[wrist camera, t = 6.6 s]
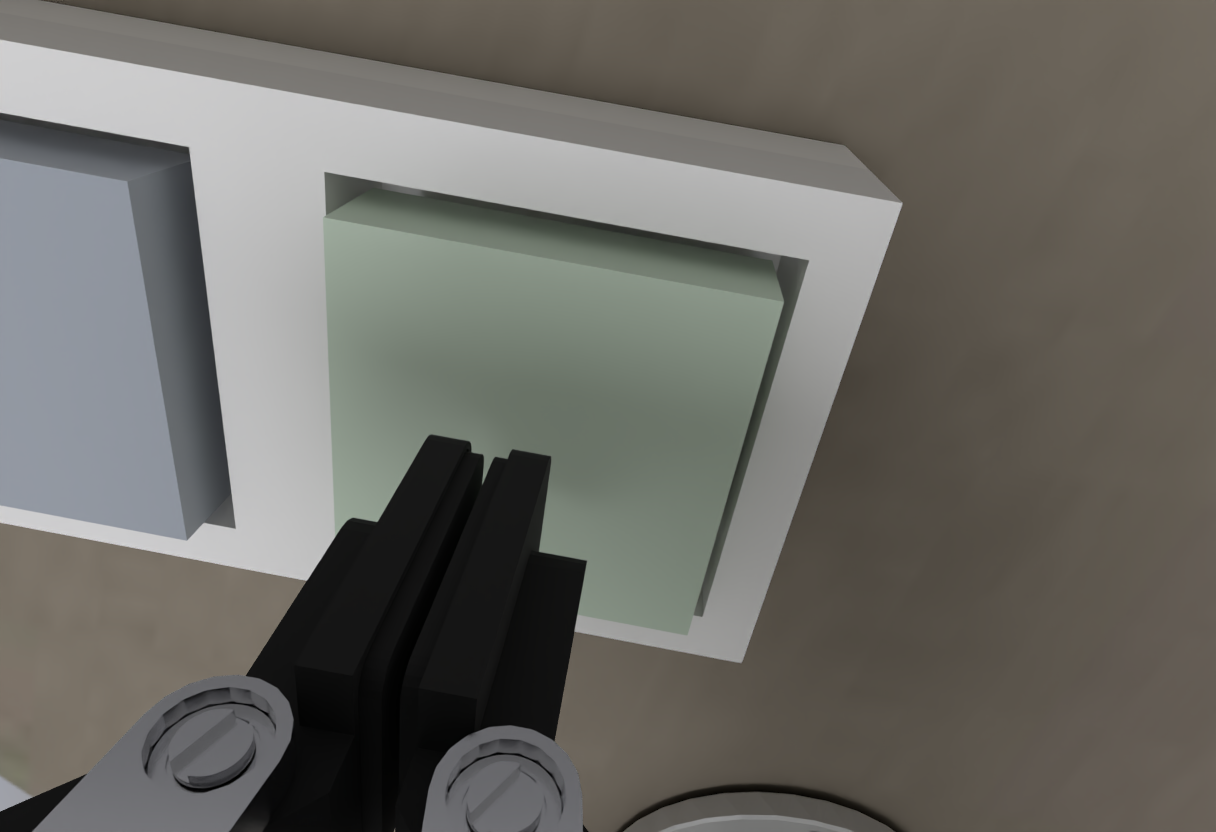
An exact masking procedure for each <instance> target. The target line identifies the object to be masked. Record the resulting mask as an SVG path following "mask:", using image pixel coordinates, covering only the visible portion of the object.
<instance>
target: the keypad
mask: <svg viewBox="0 0 1216 832" xmlns="http://www.w3.org/2000/svg"><path fill="white" fill-rule="evenodd" d="M0 120H5V121H11V122H16V123H22V124H27V125H33V126H38V127H44V128H49V129H54V130H60V131H65V132H71V133H76V134H82V135H87V136H93V137H98V138H104V139H109V140H115V141H120V142H126V143H131V144H137V145H142V146H147V147H153V148H158V149H164V150H169V151H175V152H180V153H186V154H190V159H191V167H192V175H193V183H194V192H195V200H196V208H197V216H198V224H199V232H200V240H201V249H202V257H203V265H204V273H205V281H206V289H207V297H208V306H209V314H210V322H211V330H212V338H213V346H214V354H215V363H216V371H217V379H218V387H219V395H220V403H221V411H222V419H223V428H224V436H225V444H226V452H227V460H228V468H229V476H230V485H231V494H230V495H229V496H228V497H227V499H226V500H225V501H224V502H223V503H222V504H221V505H220V506H219V507H218V508H217V509H216V510H215V511H214V512H213V514H212V515H211V516H210V517H209V518H208V519H207V520H206V521H205V522H204V523H203V524H202V525H201V526H200V527H199V528H198V530H197V531H196V532H195V533H194V534H193V535H192V536H191V537H190V538H189V539H188V540H187V541H186V540H180V539H175V538H170V537H164V536H159V535H154V534H149V533H143V532H138V531H133V530H128V529H122V528H117V527H112V526H106V525H101V524H96V523H91V522H85V521H80V520H75V519H69V518H64V517H59V516H54V515H48V514H43V513H38V512H33V511H27V510H22V509H17V508H11V507H6V506H1V505H0V523H6V524H11V525H16V526H21V527H27V528H32V529H37V530H42V531H48V532H53V533H58V534H63V535H69V536H74V537H79V538H85V539H90V540H95V541H100V542H106V543H111V544H116V545H121V546H127V547H132V548H137V549H142V550H148V551H153V552H158V553H164V554H169V555H174V556H179V557H185V558H190V559H195V560H200V561H206V562H211V563H216V564H221V565H227V566H232V567H237V568H243V569H248V570H253V571H258V572H264V573H269V574H274V575H279V576H285V577H290V578H295V579H300V580H306V581H307V580H308V578H309V577H310V575H311V574H312V572H313V571H314V569H315V568H316V566H317V564H318V563H319V561H320V560H321V558H322V557H323V555H324V554H325V552H326V551H327V549H328V547H329V546H330V544H331V543H332V541H333V540H334V538H335V520H334V494H333V467H332V441H331V415H330V389H329V363H328V337H327V310H326V284H325V258H324V232H323V217H324V216H326V215H328V214H329V213H331V212H333V211H334V210H336V209H338V208H340V207H341V206H343V205H345V204H346V203H348V202H350V201H351V200H353V199H355V198H356V197H358V196H360V195H361V194H363V193H365V192H367V191H368V190H370V189H372V188H378V189H383V190H389V191H394V192H400V193H405V194H411V195H416V196H422V197H427V198H433V199H438V200H443V201H449V202H454V203H460V204H465V205H471V206H476V207H482V208H487V209H493V210H498V211H504V212H509V213H515V214H520V215H526V216H531V217H537V218H542V219H547V220H553V221H558V222H564V223H569V224H575V225H580V226H586V227H591V228H597V229H602V230H608V231H613V232H619V233H624V234H630V235H635V236H641V237H646V238H651V239H657V240H662V241H668V242H673V243H679V244H684V245H690V246H695V247H701V248H706V249H712V250H717V251H723V252H728V253H734V254H739V255H744V256H750V257H755V258H761V259H766V260H772V261H773V265H774V268H775V272H776V275H777V279H778V282H779V286H780V289H781V293H782V296H783V299H784V304H783V308H782V311H781V315H780V318H779V322H778V325H777V329H776V332H775V335H774V339H773V342H772V346H771V349H770V353H769V356H768V360H767V363H766V366H765V370H764V373H763V377H762V380H761V384H760V387H759V391H758V394H757V397H756V401H755V404H754V408H753V411H752V415H751V418H750V422H749V425H748V429H747V432H746V435H745V439H744V442H743V446H742V449H741V453H740V456H739V460H738V463H737V466H736V470H735V473H734V477H733V480H732V484H731V487H730V491H729V494H728V497H727V501H726V504H725V508H724V511H723V515H722V518H721V522H720V525H719V529H718V532H717V535H716V539H715V542H714V546H713V549H712V553H711V556H710V560H709V563H708V566H707V570H706V573H705V577H704V580H703V584H702V587H701V591H700V594H699V597H698V601H697V604H696V608H695V611H694V615H693V618H692V622H691V625H690V629H689V632H688V635H682V634H676V633H671V632H666V631H661V630H655V629H650V628H645V627H639V626H634V625H629V624H624V623H618V622H613V621H608V620H603V619H597V618H592V617H587V616H581V615H577V620H576V625H575V631H574V632H580V633H585V634H590V635H595V636H601V637H606V638H611V639H617V640H622V641H627V642H632V643H638V644H643V645H648V646H653V647H659V648H664V649H669V650H674V651H680V652H685V653H690V654H696V655H701V656H706V657H711V658H717V659H722V660H727V661H732V662H738V663H742V661H743V658H744V655H745V652H746V649H747V647H748V644H749V641H750V638H751V635H752V632H753V629H754V627H755V624H756V621H757V618H758V615H759V612H760V610H761V607H762V604H763V601H764V598H765V595H766V592H767V590H768V587H769V584H770V581H771V578H772V575H773V572H774V570H775V567H776V564H777V561H778V558H779V555H780V552H781V550H782V547H783V544H784V541H785V538H786V535H787V532H788V530H789V527H790V524H791V521H792V518H793V515H794V512H795V510H796V507H797V504H798V501H799V498H800V495H801V492H802V490H803V487H804V484H805V481H806V478H807V475H808V472H809V470H810V467H811V464H812V461H813V458H814V455H815V452H816V450H817V447H818V444H819V441H820V438H821V435H822V432H823V430H824V427H825V424H826V421H827V418H828V415H829V412H830V410H831V407H832V404H833V401H834V398H835V395H836V392H837V390H838V387H839V384H840V381H841V378H842V375H843V373H844V370H845V367H846V364H847V361H848V358H849V355H850V353H851V350H852V347H853V344H854V341H855V338H856V335H857V333H858V330H859V327H860V324H861V321H862V318H863V315H864V313H865V310H866V307H867V304H868V301H869V298H870V295H871V293H872V290H873V287H874V284H875V281H876V278H877V275H878V273H879V270H880V267H881V264H882V261H883V258H884V255H885V253H886V250H887V247H888V244H889V241H890V238H891V235H892V233H893V230H894V227H895V224H896V221H897V218H898V215H899V213H900V210H901V207H902V204H903V203H902V202H901V201H900V200H899V199H898V198H897V197H896V196H895V195H894V194H893V193H892V192H891V191H890V190H889V189H888V188H887V187H886V186H885V185H884V184H883V183H882V182H881V181H880V180H879V179H878V178H877V177H876V176H875V175H874V174H873V173H872V172H871V171H870V170H869V169H868V168H867V167H866V166H865V165H864V164H863V163H862V162H861V161H860V160H859V159H858V158H857V157H856V156H855V155H854V154H853V153H852V152H851V151H850V150H849V149H848V148H847V147H846V146H845V145H840V144H834V143H829V142H823V141H817V140H812V139H806V138H801V137H795V136H790V135H784V134H779V133H773V132H768V131H762V130H757V129H751V128H745V127H740V126H734V125H729V124H723V123H718V122H712V121H707V120H701V119H696V118H690V117H684V116H679V115H673V114H668V113H662V112H657V111H651V110H646V109H640V108H635V107H629V106H624V105H618V104H612V103H607V102H601V101H596V100H590V99H585V98H579V97H574V96H568V95H563V94H557V93H551V92H546V91H540V90H535V89H529V88H524V87H518V86H513V85H507V84H502V83H496V82H491V81H485V80H479V79H474V78H468V77H463V76H457V75H452V74H446V73H441V72H435V71H430V70H424V69H418V68H413V67H407V66H402V65H396V64H391V63H385V62H380V61H374V60H369V59H363V58H358V57H352V56H346V55H341V54H335V53H330V52H324V51H319V50H313V49H308V48H302V47H297V46H291V45H285V44H280V43H274V42H269V41H263V40H258V39H252V38H247V37H241V36H236V35H230V34H225V33H219V32H213V31H208V30H202V29H197V28H191V27H186V26H180V25H175V24H169V23H164V22H158V21H152V20H147V19H141V18H136V17H130V16H125V15H119V14H114V13H108V12H103V11H97V10H92V9H86V8H80V7H75V6H69V5H64V4H58V3H53V2H47V1H42V0H0Z"/></svg>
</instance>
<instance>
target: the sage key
mask: <svg viewBox="0 0 1216 832" xmlns="http://www.w3.org/2000/svg"><path fill="white" fill-rule="evenodd" d="M323 232H324V258H325V284H326V310H327V337H328V363H329V389H330V415H331V441H332V467H333V494H334V520H335V537H336V535H337V533H338V532H339V530H340V529H341V527H342V526H343V525H344V524H345V522H346V521H347V520H349V519H351V518H358V519H364V520H369V521H375V522H378V520H379V519H380V517H381V515H382V513H383V512H384V510H385V508H386V507H387V505H388V503H389V501H390V500H391V498H392V496H393V495H394V493H395V491H396V489H397V488H398V486H399V484H400V483H401V481H402V479H403V477H404V476H405V474H406V472H407V471H408V469H409V467H410V465H411V464H412V462H413V460H414V459H415V457H416V455H417V453H418V452H419V450H420V448H421V447H422V445H423V443H424V441H425V440H426V438H427V437H428V436H429V435H431V434H433V435H438V436H444V437H449V438H455V439H460V440H466V441H470V443H471V447H472V452H473V453H478V454H483V455H484V469H483V481H482V485H483V482H484V480H485V477H486V475H487V473H488V470H489V468H490V465H491V463H492V461H493V459H494V457H500V458H505V459H508V456H509V454H510V452H511V450H512V449H515V450H520V451H526V452H531V453H537V454H542V455H547V456H551V468H550V475H549V482H548V490H547V497H546V504H545V511H544V519H543V526H542V533H541V541H540V548H539V552H543V553H548V554H554V555H559V556H565V557H570V558H576V559H581V560H586V561H587V565H586V571H585V576H584V582H583V587H582V593H581V598H580V604H579V609H578V614H577V615H581V616H587V617H592V618H597V619H603V620H608V621H613V622H618V623H624V624H629V625H634V626H639V627H645V628H650V629H655V630H661V631H666V632H671V633H676V634H682V635H688V632H689V629H690V625H691V622H692V618H693V615H694V611H695V608H696V604H697V601H698V597H699V594H700V591H701V587H702V584H703V580H704V577H705V573H706V570H707V566H708V563H709V560H710V556H711V553H712V549H713V546H714V542H715V539H716V535H717V532H718V529H719V525H720V522H721V518H722V515H723V511H724V508H725V504H726V501H727V497H728V494H729V491H730V487H731V484H732V480H733V477H734V473H735V470H736V466H737V463H738V460H739V456H740V453H741V449H742V446H743V442H744V439H745V435H746V432H747V429H748V425H749V422H750V418H751V415H752V411H753V408H754V404H755V401H756V397H757V394H758V391H759V387H760V384H761V380H762V377H763V373H764V370H765V366H766V363H767V360H768V356H769V353H770V349H771V346H772V342H773V339H774V335H775V332H776V329H777V325H778V322H779V318H780V315H781V311H782V308H783V304H784V299H783V296H782V293H781V289H780V286H779V282H778V279H777V275H776V272H775V268H774V265H773V261H772V260H766V259H761V258H755V257H750V256H744V255H739V254H734V253H728V252H723V251H717V250H712V249H706V248H701V247H695V246H690V245H684V244H679V243H673V242H668V241H662V240H657V239H651V238H646V237H641V236H635V235H630V234H624V233H619V232H613V231H608V230H602V229H597V228H591V227H586V226H580V225H575V224H569V223H564V222H558V221H553V220H547V219H542V218H537V217H531V216H526V215H520V214H515V213H509V212H504V211H498V210H493V209H487V208H482V207H476V206H471V205H465V204H460V203H454V202H449V201H443V200H438V199H433V198H427V197H422V196H416V195H411V194H405V193H400V192H394V191H389V190H383V189H378V188H372V189H370V190H368V191H367V192H365V193H363V194H361V195H360V196H358V197H356V198H355V199H353V200H351V201H350V202H348V203H346V204H345V205H343V206H341V207H340V208H338V209H336V210H334V211H333V212H331V213H329V214H328V215H326V216H324V217H323Z"/></svg>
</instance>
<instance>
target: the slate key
mask: <svg viewBox="0 0 1216 832" xmlns="http://www.w3.org/2000/svg"><path fill="white" fill-rule="evenodd" d="M230 494H231V485H230V476H229V468H228V460H227V452H226V444H225V436H224V428H223V419H222V411H221V403H220V395H219V387H218V379H217V371H216V363H215V354H214V346H213V338H212V330H211V322H210V314H209V306H208V297H207V289H206V281H205V273H204V265H203V257H202V249H201V240H200V232H199V224H198V216H197V208H196V200H195V192H194V183H193V175H192V167H191V159H190V154H186V153H180V152H175V151H169V150H164V149H158V148H153V147H147V146H142V145H137V144H131V143H126V142H120V141H115V140H109V139H104V138H98V137H93V136H87V135H82V134H76V133H71V132H65V131H60V130H54V129H49V128H44V127H38V126H33V125H27V124H22V123H16V122H11V121H5V120H0V505H1V506H6V507H11V508H17V509H22V510H27V511H33V512H38V513H43V514H48V515H54V516H59V517H64V518H69V519H75V520H80V521H85V522H91V523H96V524H101V525H106V526H112V527H117V528H122V529H128V530H133V531H138V532H143V533H149V534H154V535H159V536H164V537H170V538H175V539H180V540H186V541H187V540H188V539H189V538H190V537H191V536H192V535H193V534H194V533H195V532H196V531H197V530H198V528H199V527H200V526H201V525H202V524H203V523H204V522H205V521H206V520H207V519H208V518H209V517H210V516H211V515H212V514H213V512H214V511H215V510H216V509H217V508H218V507H219V506H220V505H221V504H222V503H223V502H224V501H225V500H226V499H227V497H228V496H229V495H230Z"/></svg>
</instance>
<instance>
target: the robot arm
mask: <svg viewBox="0 0 1216 832" xmlns="http://www.w3.org/2000/svg"><path fill="white" fill-rule="evenodd" d="M550 468H551V456H547V455H542V454H537V453H531V452H526V451H520V450H515V449H512V450H511V452H510V454H509V456H508V459H505V458H500V457H494V459H493V461H492V463H491V465H490V468H489V470H488V473H487V475H486V477H485V480H484V482H483V485H482V481H483V469H484V455H483V454H478V453H473V452H472V447H471V443H470V441H466V440H460V439H455V438H449V437H444V436H438V435H433V434H431V435H429V436H428V437H427V438H426V440H425V441H424V443H423V445H422V447H421V448H420V450H419V452H418V453H417V455H416V457H415V459H414V460H413V462H412V464H411V465H410V467H409V469H408V471H407V472H406V474H405V476H404V477H403V479H402V481H401V483H400V484H399V486H398V488H397V489H396V491H395V493H394V495H393V496H392V498H391V500H390V501H389V503H388V505H387V507H386V508H385V510H384V512H383V513H382V515H381V517H380V519H379V520H378V522H375V521H369V520H364V519H358V518H351V519H349V520H347V521H346V522H345V524H344V525H343V526H342V527H341V529H340V530H339V532H338V533H337V535H336V537H335V538H334V540H333V541H332V543H331V544H330V546H329V547H328V549H327V551H326V552H325V554H324V555H323V557H322V558H321V560H320V561H319V563H318V564H317V566H316V568H315V569H314V571H313V572H312V574H311V575H310V577H309V578H308V580H307V582H306V583H305V585H304V586H303V588H302V589H301V591H300V592H299V594H298V596H297V597H296V599H295V600H294V602H293V603H292V605H291V606H290V608H289V609H288V611H287V613H286V614H285V616H284V617H283V619H282V620H281V622H280V623H279V625H278V627H277V628H276V630H275V631H274V633H273V634H272V636H271V637H270V639H269V641H268V642H267V644H266V645H265V647H264V648H263V650H262V651H261V653H260V655H259V656H258V658H257V659H256V661H255V662H254V664H253V665H252V667H251V668H250V670H249V672H248V673H247V675H246V676H242V675H230V676H216V677H211V678H208V679H204V680H201V681H198V682H194V683H191V684H188V685H186V686H184V687H182V688H181V689H179V690H177V691H175V692H173V693H171V694H169V695H167V696H165V697H164V698H163V699H162V700H161V701H159V702H158V703H157V704H156V705H155V706H153V707H152V708H151V709H150V710H149V711H147V712H146V713H145V714H144V715H143V716H142V717H141V718H140V719H139V720H138V721H137V722H136V723H135V724H134V725H133V726H132V728H131V729H130V730H129V731H128V732H127V733H126V734H125V735H124V736H123V737H122V738H121V739H120V740H119V741H118V742H117V743H116V744H115V745H114V746H113V747H112V748H111V750H110V751H109V752H108V753H107V754H106V755H105V756H104V757H103V758H102V759H101V760H100V761H99V762H98V763H97V764H96V765H95V766H94V767H93V768H92V769H91V770H90V772H89V773H88V774H86V775H83V776H81V777H79V778H76V779H74V780H72V781H70V782H67V783H65V784H63V785H60V786H58V787H56V788H53V789H51V790H49V791H47V792H44V793H42V794H40V795H37V796H35V797H33V798H30V799H28V800H26V801H24V802H21V803H19V804H17V805H14V806H12V807H10V808H7V809H5V810H3V811H1V812H0V832H394V829H395V832H588V831H587V829H586V828H585V827H584V825H583V814H582V792H581V787H580V781H579V776H578V773H577V771H576V769H575V767H574V765H573V763H572V762H571V760H570V758H569V756H568V754H567V753H566V752H565V751H563V750H562V749H561V748H560V747H559V746H558V745H557V744H556V743H555V742H554V741H555V735H556V730H557V724H558V719H559V713H560V708H561V702H562V697H563V691H564V686H565V680H566V675H567V669H568V664H569V658H570V653H571V647H572V642H573V636H574V631H575V625H576V620H577V614H578V609H579V604H580V598H581V593H582V587H583V582H584V576H585V571H586V565H587V561H586V560H581V559H576V558H570V557H565V556H559V555H554V554H548V553H543V552H539V548H540V541H541V533H542V526H543V519H544V511H545V504H546V497H547V490H548V482H549V475H550ZM623 832H895V831H893V830H892V829H891V828H889V827H888V826H886V825H884V824H882V823H880V822H878V821H876V820H874V819H872V818H870V817H868V816H866V815H864V814H862V813H860V812H858V811H856V810H853V809H850V808H847V807H844V806H841V805H838V804H835V803H832V802H829V801H825V800H820V799H815V798H810V797H805V796H800V795H795V794H785V793H772V792H758V791H756V792H734V793H720V794H714V795H708V796H702V797H697V798H691V799H688V800H685V801H681V802H678V803H675V804H672V805H669V806H666V807H663V808H661V809H659V810H657V811H655V812H653V813H651V814H649V815H647V816H645V817H643V818H641V819H639V820H637V821H636V822H635V823H633V824H632V825H631V826H630V827H628V828H627V829H626V830H625V831H623Z"/></svg>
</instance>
